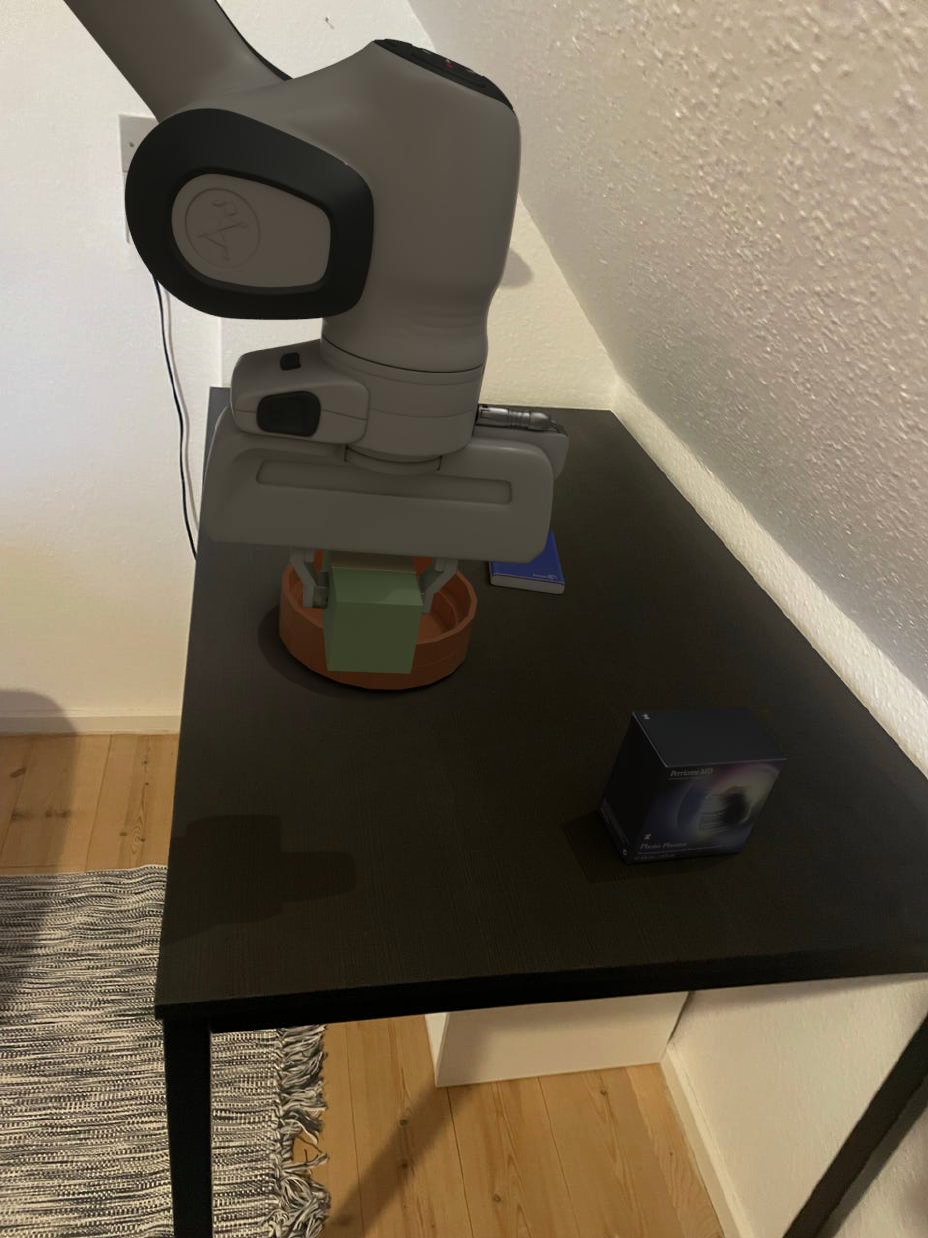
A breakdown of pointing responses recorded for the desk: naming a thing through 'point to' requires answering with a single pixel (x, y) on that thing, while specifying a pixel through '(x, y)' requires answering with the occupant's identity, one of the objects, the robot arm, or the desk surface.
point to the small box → (688, 783)
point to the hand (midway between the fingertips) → (365, 606)
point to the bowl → (436, 640)
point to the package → (371, 612)
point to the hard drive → (532, 571)
